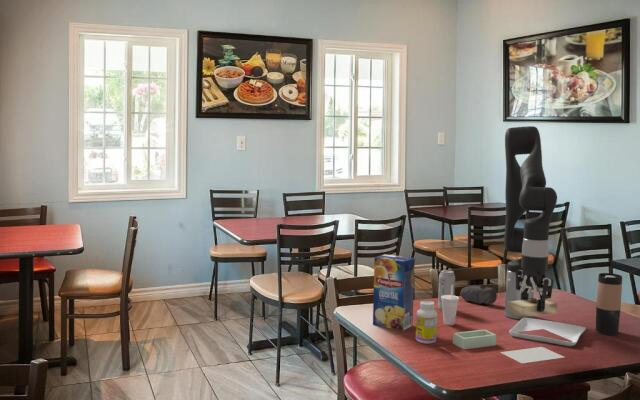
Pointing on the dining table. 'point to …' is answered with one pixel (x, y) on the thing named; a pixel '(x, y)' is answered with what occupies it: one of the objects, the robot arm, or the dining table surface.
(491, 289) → the perforated stone tool
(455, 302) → the smoothie
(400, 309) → the juice carton
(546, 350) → the mat
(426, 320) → the supplement bottle
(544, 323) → the salad plate
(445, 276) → the energy drink can
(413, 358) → the dining table surface
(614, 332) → the travel mug
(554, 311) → the lid
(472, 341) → the dish
